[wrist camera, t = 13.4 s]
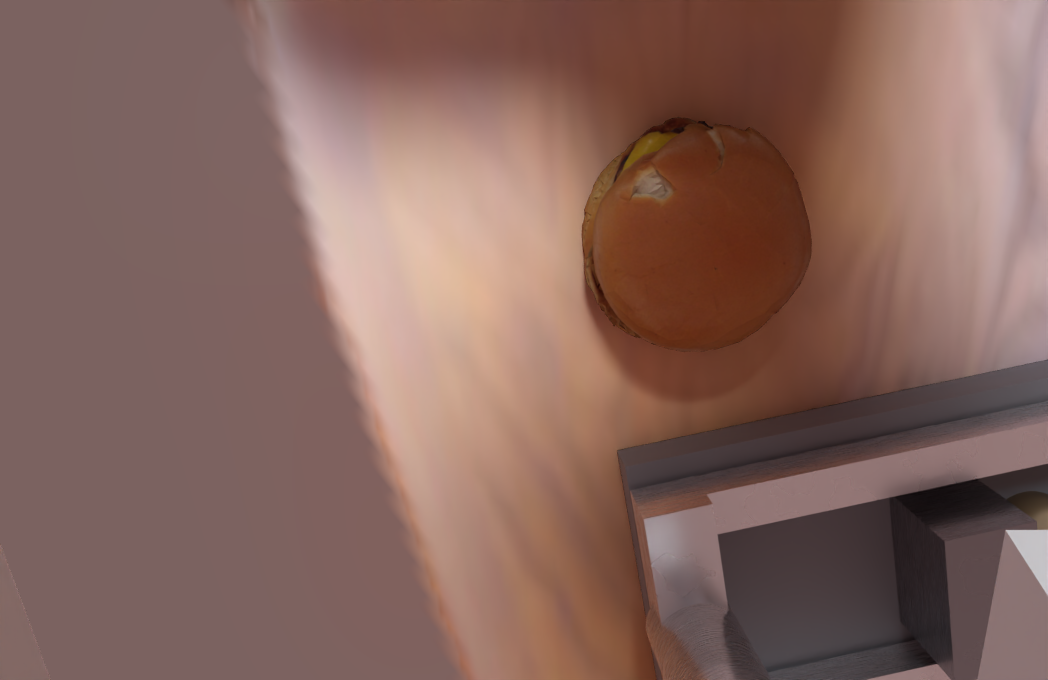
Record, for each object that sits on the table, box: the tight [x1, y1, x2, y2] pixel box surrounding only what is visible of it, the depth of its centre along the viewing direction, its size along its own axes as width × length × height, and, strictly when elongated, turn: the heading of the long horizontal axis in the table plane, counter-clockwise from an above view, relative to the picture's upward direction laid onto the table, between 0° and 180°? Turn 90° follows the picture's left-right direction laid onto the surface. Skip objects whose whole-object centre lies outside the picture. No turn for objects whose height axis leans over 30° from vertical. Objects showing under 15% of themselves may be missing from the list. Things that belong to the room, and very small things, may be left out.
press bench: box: [617, 360, 1048, 680], centre depth 45 cm, size 15×28×2 cm, turn 101°
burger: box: [582, 118, 812, 352], centre depth 39 cm, size 10×9×5 cm
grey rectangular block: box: [889, 479, 1037, 680], centre depth 42 cm, size 7×4×5 cm, turn 11°
